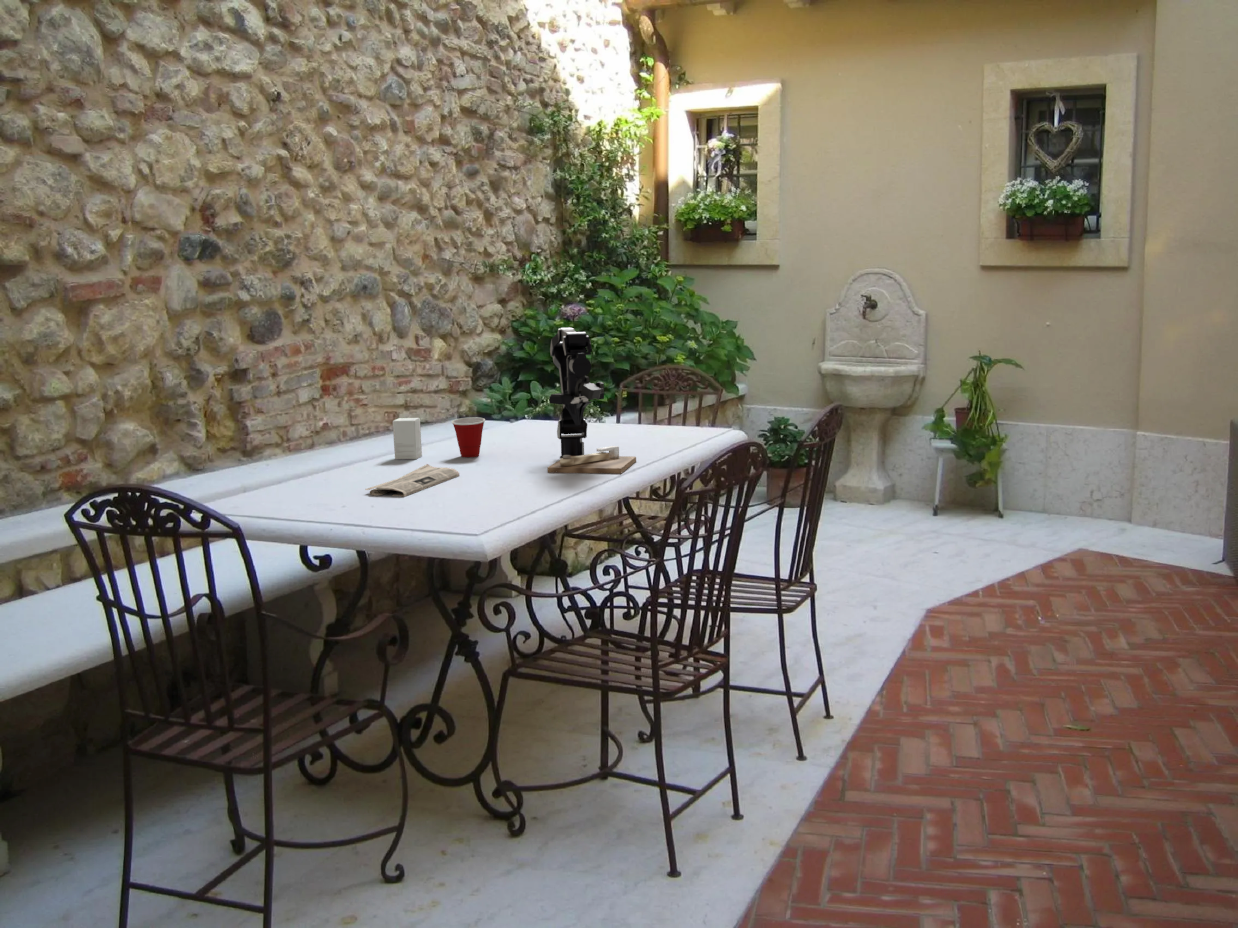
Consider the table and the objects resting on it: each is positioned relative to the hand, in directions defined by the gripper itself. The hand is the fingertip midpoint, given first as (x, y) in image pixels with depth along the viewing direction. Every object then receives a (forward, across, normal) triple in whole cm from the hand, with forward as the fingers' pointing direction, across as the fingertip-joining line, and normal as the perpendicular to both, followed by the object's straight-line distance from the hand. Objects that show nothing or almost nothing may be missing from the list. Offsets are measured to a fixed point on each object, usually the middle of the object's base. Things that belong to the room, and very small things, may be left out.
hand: (577, 424), depth 359 cm
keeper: (+10, +5, -8) cm, 14 cm away
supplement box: (+12, -23, +54) cm, 60 cm away
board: (+12, -2, -8) cm, 14 cm away
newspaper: (+12, -54, +12) cm, 57 cm away
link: (+10, -5, -7) cm, 14 cm away
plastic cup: (+12, -9, +40) cm, 43 cm away
